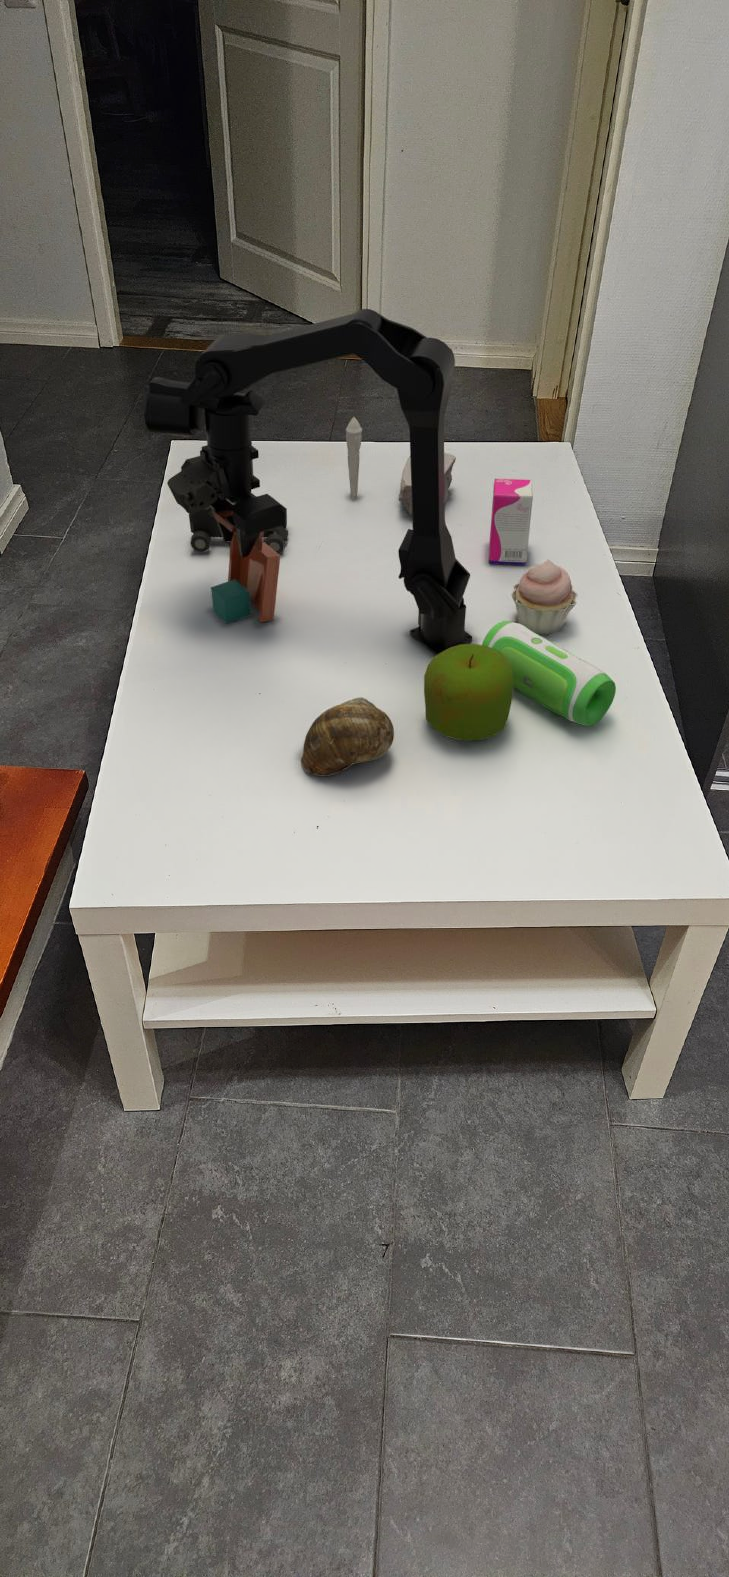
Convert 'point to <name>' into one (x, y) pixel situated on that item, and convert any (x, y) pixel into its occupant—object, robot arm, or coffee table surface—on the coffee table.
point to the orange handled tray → (254, 570)
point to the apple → (468, 692)
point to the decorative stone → (405, 486)
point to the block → (230, 601)
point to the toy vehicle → (208, 527)
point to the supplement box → (510, 521)
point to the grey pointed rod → (353, 454)
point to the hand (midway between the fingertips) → (236, 548)
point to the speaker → (553, 674)
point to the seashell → (346, 737)
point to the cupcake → (544, 598)
